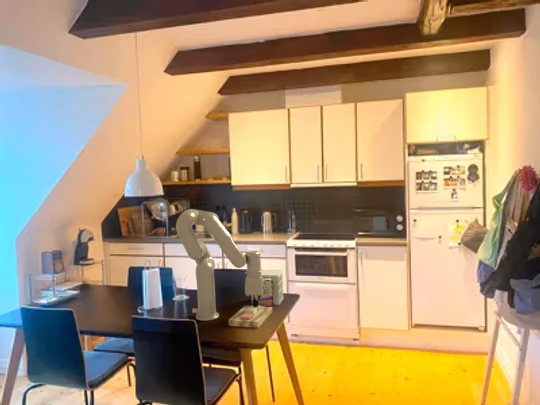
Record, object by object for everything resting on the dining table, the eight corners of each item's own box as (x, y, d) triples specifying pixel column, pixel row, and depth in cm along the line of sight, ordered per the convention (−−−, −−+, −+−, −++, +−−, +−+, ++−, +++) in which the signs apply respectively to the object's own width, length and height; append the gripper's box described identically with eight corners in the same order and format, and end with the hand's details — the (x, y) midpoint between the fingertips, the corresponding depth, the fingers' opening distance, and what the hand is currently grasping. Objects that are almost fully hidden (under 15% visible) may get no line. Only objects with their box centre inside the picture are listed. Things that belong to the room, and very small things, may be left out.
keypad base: (229, 325, 229) (228, 319, 228) (245, 310, 251) (245, 305, 251) (258, 327, 224) (258, 321, 224) (272, 312, 247) (272, 307, 246)
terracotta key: (240, 322, 229) (240, 316, 229) (244, 318, 234) (243, 313, 234) (249, 322, 228) (249, 317, 228) (252, 319, 232) (252, 313, 232)
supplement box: (250, 304, 263) (249, 274, 262) (256, 298, 276) (255, 269, 275) (279, 305, 259) (278, 275, 258) (283, 298, 272) (282, 269, 270)
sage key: (249, 313, 243) (249, 307, 242) (253, 310, 247) (252, 305, 247) (258, 313, 241) (258, 308, 241) (261, 310, 246) (261, 305, 246)
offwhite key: (245, 315, 236) (245, 309, 236) (248, 312, 241) (248, 307, 240) (254, 316, 234) (253, 310, 234) (257, 313, 239) (257, 307, 239)
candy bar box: (271, 305, 260) (270, 277, 259) (273, 307, 255) (272, 279, 254) (252, 307, 257) (251, 279, 256) (254, 309, 253) (253, 281, 251)
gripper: (238, 275, 241) (240, 308, 243) (265, 276, 237) (266, 309, 238) (243, 271, 248) (245, 304, 250) (269, 272, 244) (270, 305, 245)
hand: (255, 306), depth 244 cm, fingers closed
